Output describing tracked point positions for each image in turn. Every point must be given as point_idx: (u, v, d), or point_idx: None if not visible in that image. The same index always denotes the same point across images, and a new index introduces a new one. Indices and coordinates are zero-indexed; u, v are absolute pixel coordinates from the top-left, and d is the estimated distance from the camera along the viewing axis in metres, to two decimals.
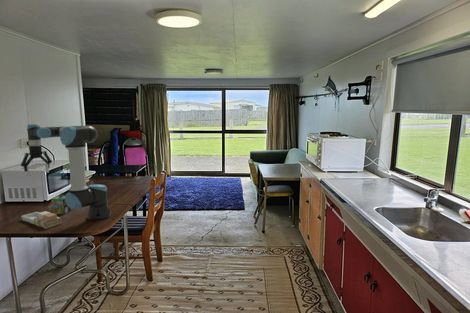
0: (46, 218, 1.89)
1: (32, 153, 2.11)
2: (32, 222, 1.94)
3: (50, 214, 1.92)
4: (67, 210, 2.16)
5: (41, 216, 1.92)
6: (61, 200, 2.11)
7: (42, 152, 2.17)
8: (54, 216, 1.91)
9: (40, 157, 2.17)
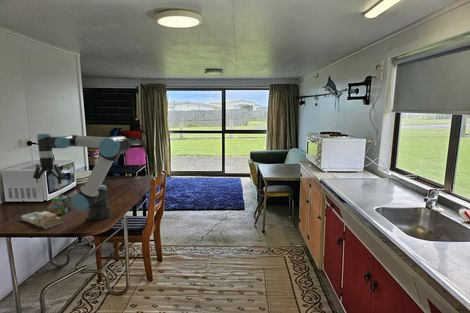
0: (46, 218, 1.89)
1: (41, 165, 1.93)
2: (32, 222, 1.94)
3: (50, 214, 1.92)
4: (67, 210, 2.16)
5: (41, 216, 1.92)
6: (61, 200, 2.11)
7: (52, 165, 1.93)
8: (54, 216, 1.91)
9: None
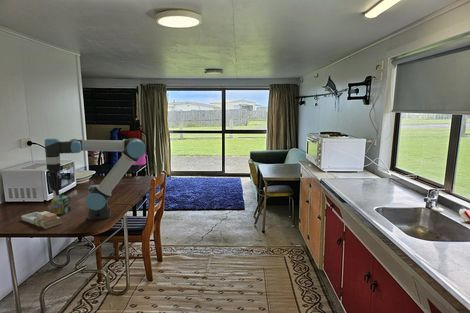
0: (46, 218, 1.89)
1: (49, 171, 1.83)
2: (32, 222, 1.94)
3: (50, 214, 1.92)
4: (67, 210, 2.16)
5: (41, 216, 1.92)
6: (61, 200, 2.11)
7: (57, 174, 1.80)
8: (54, 216, 1.91)
9: None
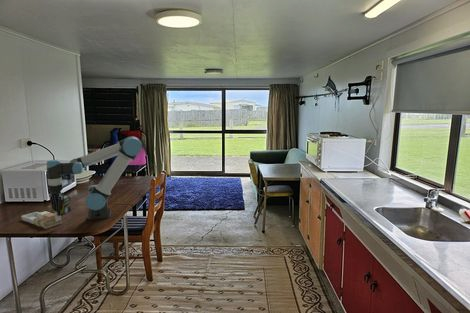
0: (46, 218, 1.89)
1: (51, 192, 1.85)
2: (32, 222, 1.94)
3: (50, 214, 1.92)
4: (67, 210, 2.16)
5: (41, 216, 1.92)
6: None
7: (59, 195, 1.82)
8: (54, 216, 1.91)
9: None
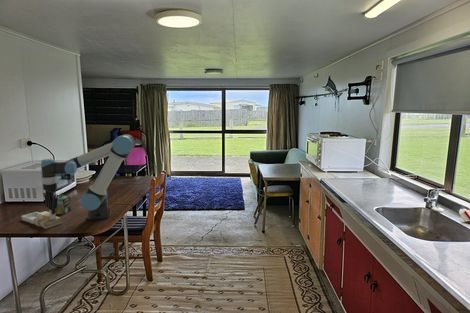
0: (45, 218, 1.90)
1: (45, 191, 1.88)
2: (32, 222, 1.94)
3: (49, 214, 1.92)
4: (67, 210, 2.16)
5: (41, 216, 1.92)
6: (61, 200, 2.11)
7: (53, 194, 1.85)
8: None
9: None
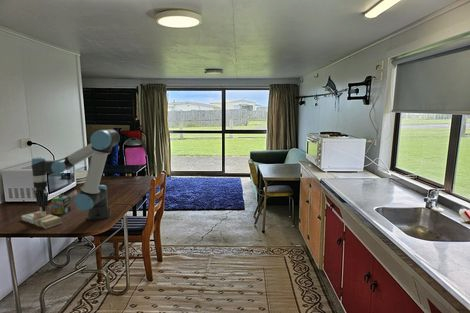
0: (36, 215, 1.95)
1: (36, 188, 1.93)
2: (32, 222, 1.94)
3: None
4: (67, 210, 2.16)
5: (29, 217, 1.99)
6: (61, 200, 2.11)
7: (43, 191, 1.90)
8: None
9: None
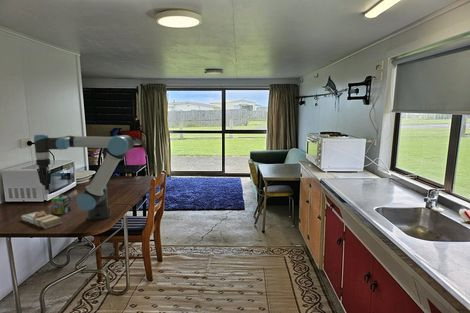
0: (36, 217, 1.95)
1: (39, 166, 1.88)
2: (32, 222, 1.94)
3: None
4: (67, 210, 2.16)
5: (29, 217, 1.99)
6: (61, 200, 2.11)
7: (46, 169, 1.86)
8: (42, 212, 1.97)
9: None
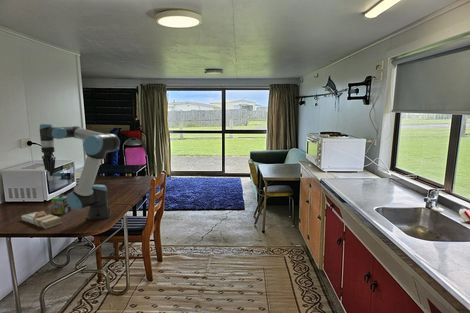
0: (36, 217, 1.95)
1: (44, 154, 2.02)
2: (32, 222, 1.94)
3: None
4: (67, 210, 2.16)
5: (29, 217, 1.99)
6: (61, 200, 2.11)
7: (51, 156, 1.99)
8: (42, 212, 1.97)
9: None
